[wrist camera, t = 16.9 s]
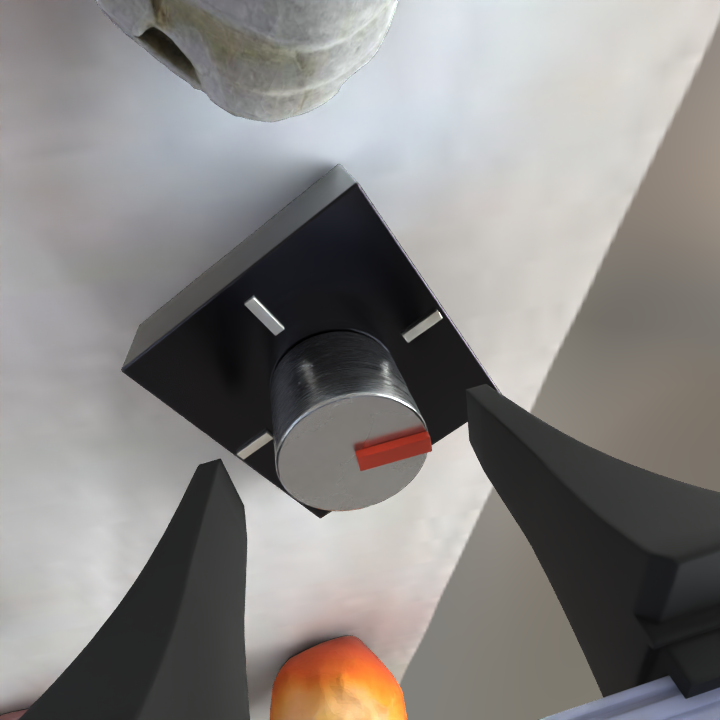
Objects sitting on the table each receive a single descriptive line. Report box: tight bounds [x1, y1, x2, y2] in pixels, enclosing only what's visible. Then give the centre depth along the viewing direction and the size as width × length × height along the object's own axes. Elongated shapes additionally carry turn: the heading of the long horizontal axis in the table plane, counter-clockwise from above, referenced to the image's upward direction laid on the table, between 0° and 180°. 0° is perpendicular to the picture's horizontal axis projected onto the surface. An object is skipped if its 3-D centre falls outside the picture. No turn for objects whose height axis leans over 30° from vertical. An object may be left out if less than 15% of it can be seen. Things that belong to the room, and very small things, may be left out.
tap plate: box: [121, 164, 501, 518], centre depth 17 cm, size 10×9×3 cm
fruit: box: [270, 636, 407, 720], centre depth 29 cm, size 8×8×8 cm
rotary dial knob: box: [270, 332, 432, 511], centre depth 15 cm, size 4×4×4 cm
